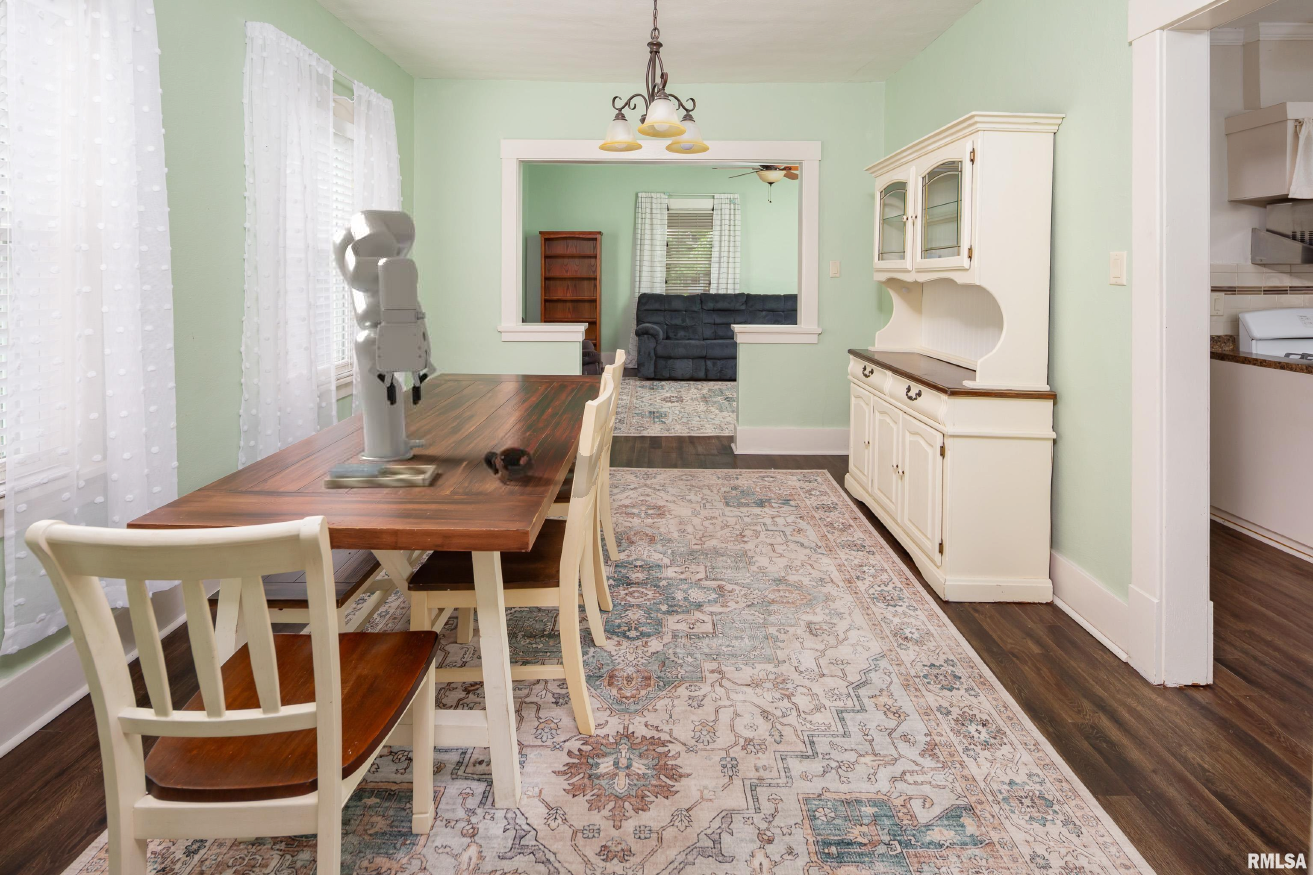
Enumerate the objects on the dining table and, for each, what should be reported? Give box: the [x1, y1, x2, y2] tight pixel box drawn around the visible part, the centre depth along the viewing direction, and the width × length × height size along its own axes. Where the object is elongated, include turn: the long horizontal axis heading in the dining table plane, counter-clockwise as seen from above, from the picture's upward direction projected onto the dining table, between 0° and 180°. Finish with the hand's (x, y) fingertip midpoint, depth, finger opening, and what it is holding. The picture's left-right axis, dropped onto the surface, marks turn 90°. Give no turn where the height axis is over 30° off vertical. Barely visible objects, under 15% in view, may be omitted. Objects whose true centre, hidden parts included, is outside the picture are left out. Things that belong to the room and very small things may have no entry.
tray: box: [323, 465, 438, 489], centre depth 176 cm, size 21×12×2 cm, turn 96°
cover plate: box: [329, 462, 387, 479], centre depth 176 cm, size 10×7×3 cm
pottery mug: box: [483, 446, 536, 485], centre depth 179 cm, size 12×10×8 cm
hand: (404, 403), depth 174 cm, fingers open, 4 cm apart
